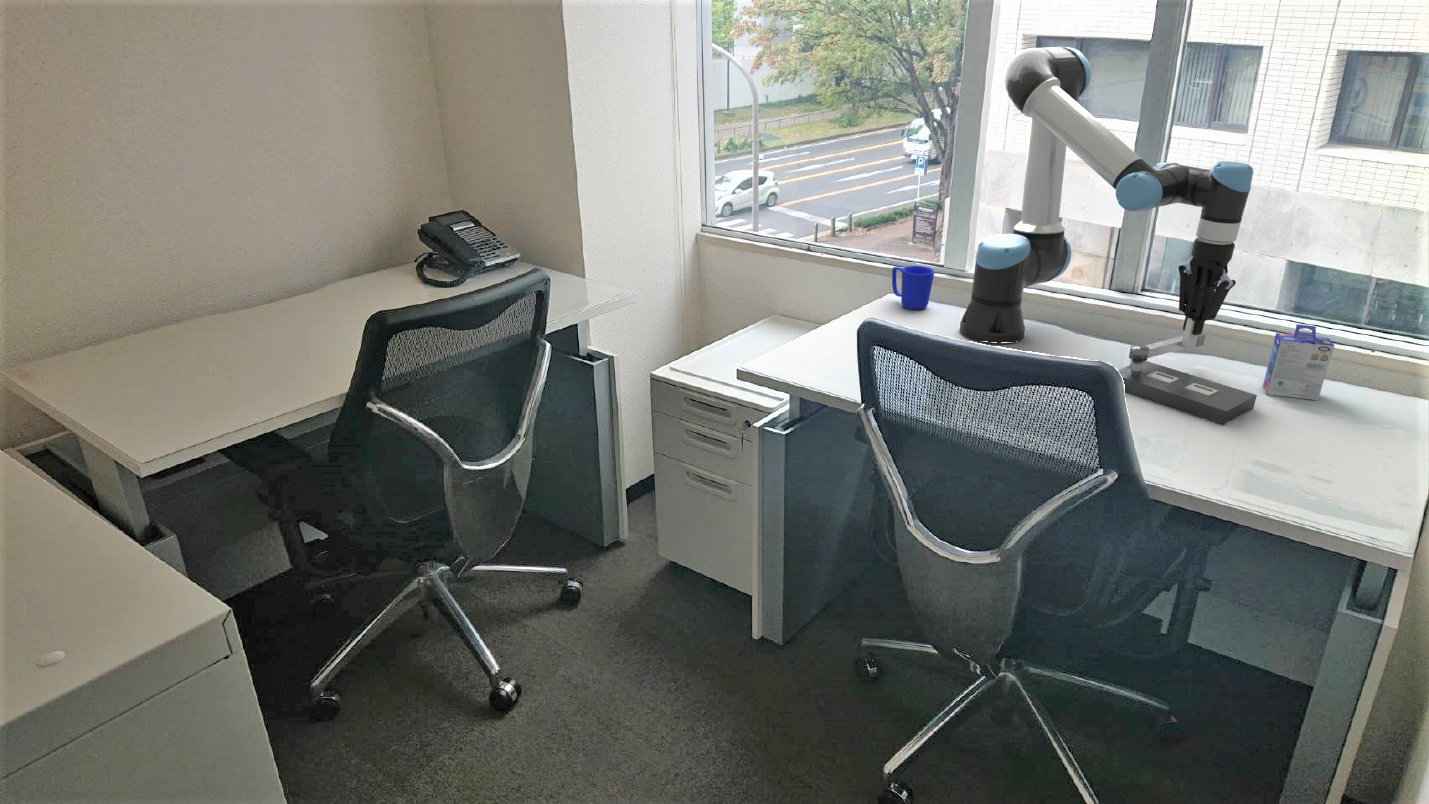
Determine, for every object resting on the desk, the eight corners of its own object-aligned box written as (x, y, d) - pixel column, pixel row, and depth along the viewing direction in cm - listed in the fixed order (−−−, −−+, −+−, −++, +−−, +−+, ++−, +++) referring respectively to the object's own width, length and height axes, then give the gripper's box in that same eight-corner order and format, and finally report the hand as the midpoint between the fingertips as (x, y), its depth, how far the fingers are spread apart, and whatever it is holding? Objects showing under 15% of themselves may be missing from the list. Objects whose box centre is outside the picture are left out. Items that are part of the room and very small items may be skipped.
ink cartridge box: (1312, 391, 194) (1332, 326, 188) (1319, 401, 189) (1340, 335, 183) (1260, 385, 196) (1278, 320, 190) (1265, 395, 192) (1284, 329, 186)
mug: (900, 296, 250) (904, 260, 246) (936, 307, 242) (940, 270, 238) (880, 302, 245) (883, 266, 241) (916, 313, 237) (920, 276, 233)
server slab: (1107, 386, 195) (1112, 364, 193) (1139, 372, 202) (1144, 351, 200) (1222, 425, 178) (1229, 401, 175) (1253, 408, 185) (1259, 385, 183)
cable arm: (1139, 363, 193) (1142, 351, 191) (1124, 357, 195) (1127, 346, 194) (1205, 345, 203) (1207, 334, 202) (1190, 340, 205) (1192, 329, 204)
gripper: (1255, 246, 185) (1225, 355, 195) (1204, 231, 196) (1178, 334, 206) (1227, 249, 183) (1198, 359, 192) (1176, 233, 194) (1151, 338, 203)
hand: (1188, 346), depth 199 cm, fingers closed
